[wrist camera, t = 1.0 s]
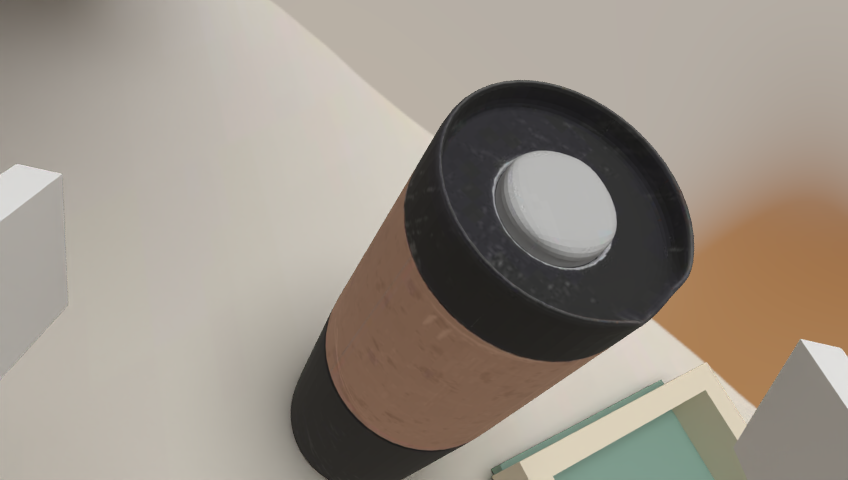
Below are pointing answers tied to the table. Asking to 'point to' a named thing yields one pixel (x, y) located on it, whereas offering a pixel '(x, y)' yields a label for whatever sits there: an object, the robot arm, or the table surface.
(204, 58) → the table surface
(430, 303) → the travel mug
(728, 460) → the rectangular tray
